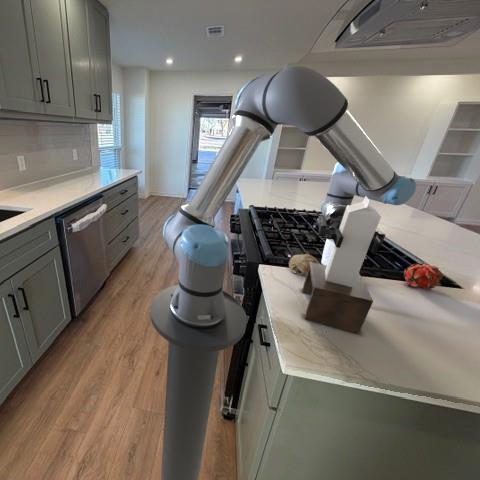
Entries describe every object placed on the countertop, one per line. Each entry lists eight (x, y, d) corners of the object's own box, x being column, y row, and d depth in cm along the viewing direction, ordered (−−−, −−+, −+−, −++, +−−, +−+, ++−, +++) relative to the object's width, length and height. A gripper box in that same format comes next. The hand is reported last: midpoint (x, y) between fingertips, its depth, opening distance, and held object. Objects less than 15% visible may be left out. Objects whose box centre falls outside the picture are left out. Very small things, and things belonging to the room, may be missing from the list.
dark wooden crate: (304, 319, 67) (314, 287, 63) (301, 290, 80) (310, 262, 76) (358, 334, 63) (373, 301, 59) (346, 300, 75) (358, 271, 71)
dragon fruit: (429, 287, 86) (406, 298, 83) (409, 265, 90) (387, 275, 86) (457, 278, 79) (433, 290, 75) (435, 255, 82) (411, 265, 79)
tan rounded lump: (283, 276, 94) (283, 261, 89) (296, 258, 98) (297, 243, 93) (312, 287, 88) (314, 272, 82) (324, 268, 92) (327, 252, 87)
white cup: (332, 259, 100) (339, 235, 96) (348, 269, 93) (358, 244, 89) (314, 260, 99) (321, 236, 95) (330, 270, 92) (338, 245, 88)
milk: (325, 281, 66) (352, 198, 57) (324, 271, 71) (349, 193, 62) (353, 288, 63) (386, 202, 55) (350, 277, 68) (380, 197, 60)
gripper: (374, 234, 75) (404, 269, 56) (302, 223, 83) (306, 251, 63) (383, 210, 72) (418, 238, 53) (308, 201, 80) (314, 223, 60)
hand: (357, 245), depth 58 cm, fingers closed on milk, 6 cm apart
